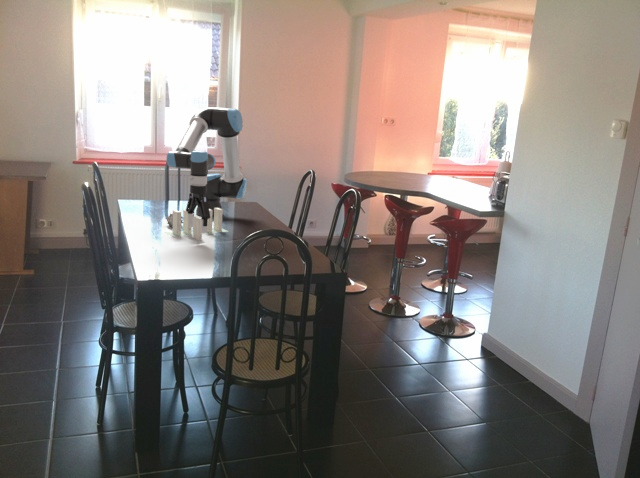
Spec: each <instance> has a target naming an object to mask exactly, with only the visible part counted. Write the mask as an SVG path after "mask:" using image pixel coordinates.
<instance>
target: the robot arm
mask: <svg viewBox="0 0 640 478" xmlns="http://www.w3.org/2000/svg"><path fill="white" fill-rule="evenodd" d="M243 126H244V125H243V116H242V113H241V112H240V110H239V109H237V108H231V107H229V108H228V107H227V108H226V107H214V106H209V107H208V106H207V107H204V108H202V109H200V110H199V111H198V112H196V113H195V114H194V115H193V116H192V117H191V119H190V120H189V127H188V128H187V130H186V131H185V134H184V136H183V137H182V139H181V141H180V143H179V144H178V146H177V148H176V150H172V151H168V152H167V154H166V163H167V166H168V167H169V168H175V169H186V170H187V169H189V170H190V177H189V181H190V185H189V195H188V201H187V204H186V208H185V210H186V211H187V212H188V227H192V228H193V217H195V215H197V216H198V217H199V216H200V218H201V233H207V221H208V219H209V218H210V212H209V209H211V210H213V213H212V218H214V208H220V209H223V208H222V207H223V206H222V204H221V198H225V199H226V198H227V199H236V200H237V199H238V200H240V199H243V198H244V197H245V195H246V192H247V187H248V179H247V178H245V177H244V174H243V173H242V172H241V166H240V155H239V141H238V136H239V135H240V132H241V131H242V130H243ZM210 130H212V131H217V132H216V133H217V135H218V136H219V137H220V141H221V149H222V150H221V152H222V160H223V161H222V162H223V168H224V169H223V170H224V173H223V175H222V174H221V173H208V171H210V170H212V169H213V168H214V167H215V165H216V163H217V161H216V158H215V156H214V155H213V154H212V153H208V151H205V150H195V149H196V148H197V145H198V144H199V142H200V139H202V136H203V134H205V133H206V132H207V131H210ZM223 215H224V211H223V212H222V216H223Z"/></svg>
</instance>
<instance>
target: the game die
mask: <svg viewBox="0 0 640 478" xmlns="http://www.w3.org/2000/svg"><path fill="white" fill-rule="evenodd" d="M182 217H183V216H181V224H183V220H182ZM164 219H166V220H167V225H168V226H169V227H172V228H173V213H169V216H168V217H164Z"/></svg>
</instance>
